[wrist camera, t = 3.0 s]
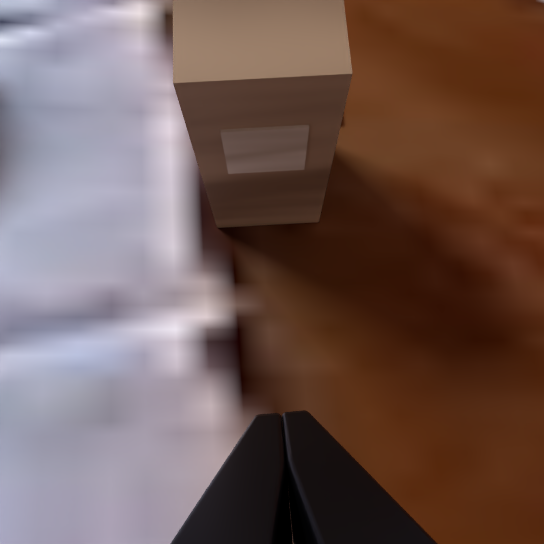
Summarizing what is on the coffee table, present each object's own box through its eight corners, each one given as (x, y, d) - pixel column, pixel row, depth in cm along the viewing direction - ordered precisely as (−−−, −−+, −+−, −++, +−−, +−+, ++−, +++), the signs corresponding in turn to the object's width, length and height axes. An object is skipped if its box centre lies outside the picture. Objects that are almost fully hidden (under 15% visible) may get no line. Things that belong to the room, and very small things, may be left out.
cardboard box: (319, 224, 22) (352, 77, 13) (217, 230, 22) (173, 86, 13) (310, 132, 23) (336, -65, 14) (214, 137, 23) (172, -57, 14)
